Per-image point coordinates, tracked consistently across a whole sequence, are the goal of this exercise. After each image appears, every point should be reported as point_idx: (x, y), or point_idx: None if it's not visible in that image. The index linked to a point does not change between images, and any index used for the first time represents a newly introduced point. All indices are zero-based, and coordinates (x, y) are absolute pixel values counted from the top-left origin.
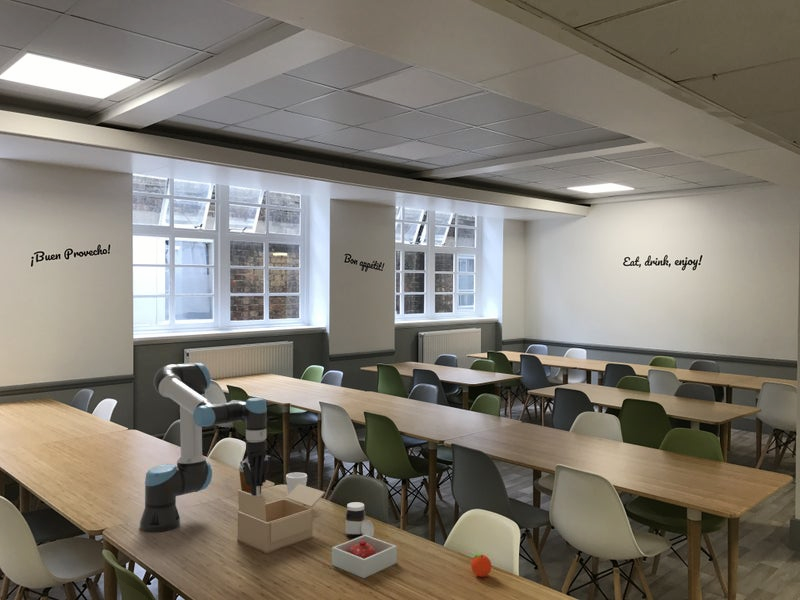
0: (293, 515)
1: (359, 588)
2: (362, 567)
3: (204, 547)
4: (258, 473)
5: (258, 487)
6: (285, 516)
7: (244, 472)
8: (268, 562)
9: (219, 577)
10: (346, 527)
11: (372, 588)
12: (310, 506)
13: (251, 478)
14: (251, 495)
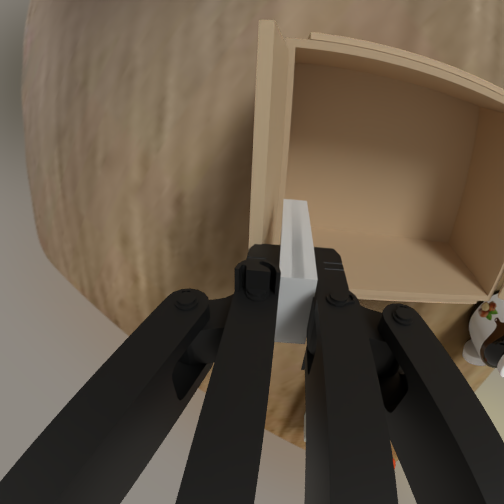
0: (411, 296)
1: (271, 421)
2: (304, 428)
3: (163, 29)
4: (309, 461)
5: (289, 335)
6: (497, 126)
7: (55, 437)
8: (234, 272)
9: (100, 244)
10: (476, 327)
11: (282, 428)
12: (501, 288)
13: (170, 421)
14: (249, 245)
